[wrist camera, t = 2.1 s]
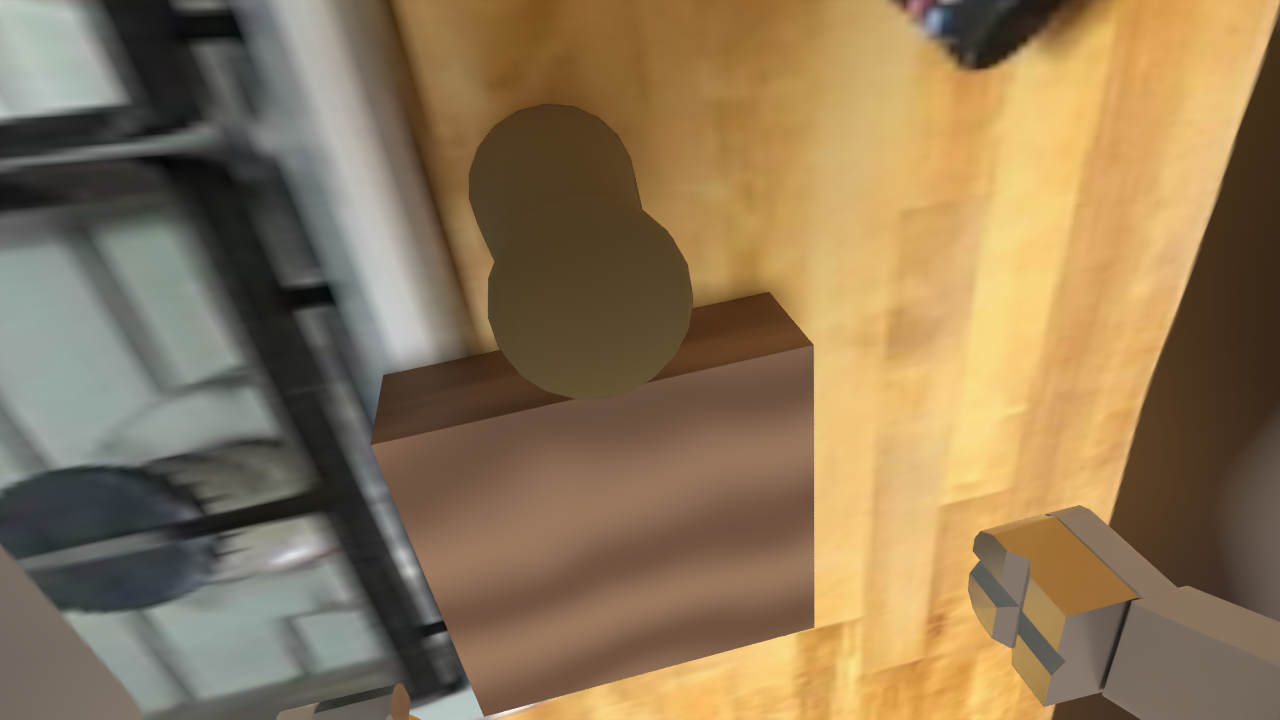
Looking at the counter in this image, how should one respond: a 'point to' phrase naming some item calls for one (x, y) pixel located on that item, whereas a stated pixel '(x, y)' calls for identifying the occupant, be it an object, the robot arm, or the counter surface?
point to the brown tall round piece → (575, 256)
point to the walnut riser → (611, 506)
